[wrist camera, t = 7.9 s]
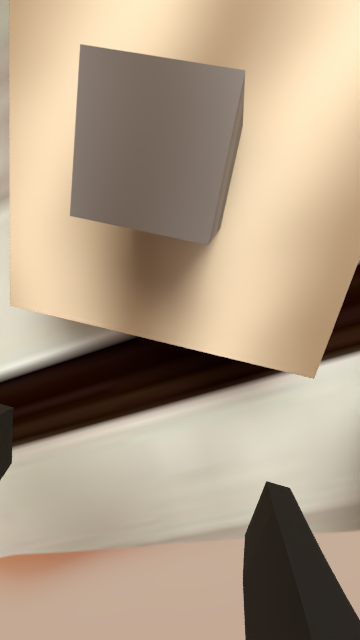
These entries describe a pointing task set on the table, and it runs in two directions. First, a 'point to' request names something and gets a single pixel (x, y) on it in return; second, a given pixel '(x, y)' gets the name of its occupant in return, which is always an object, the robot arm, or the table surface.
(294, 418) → the table surface
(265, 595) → the robot arm
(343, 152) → the lid
